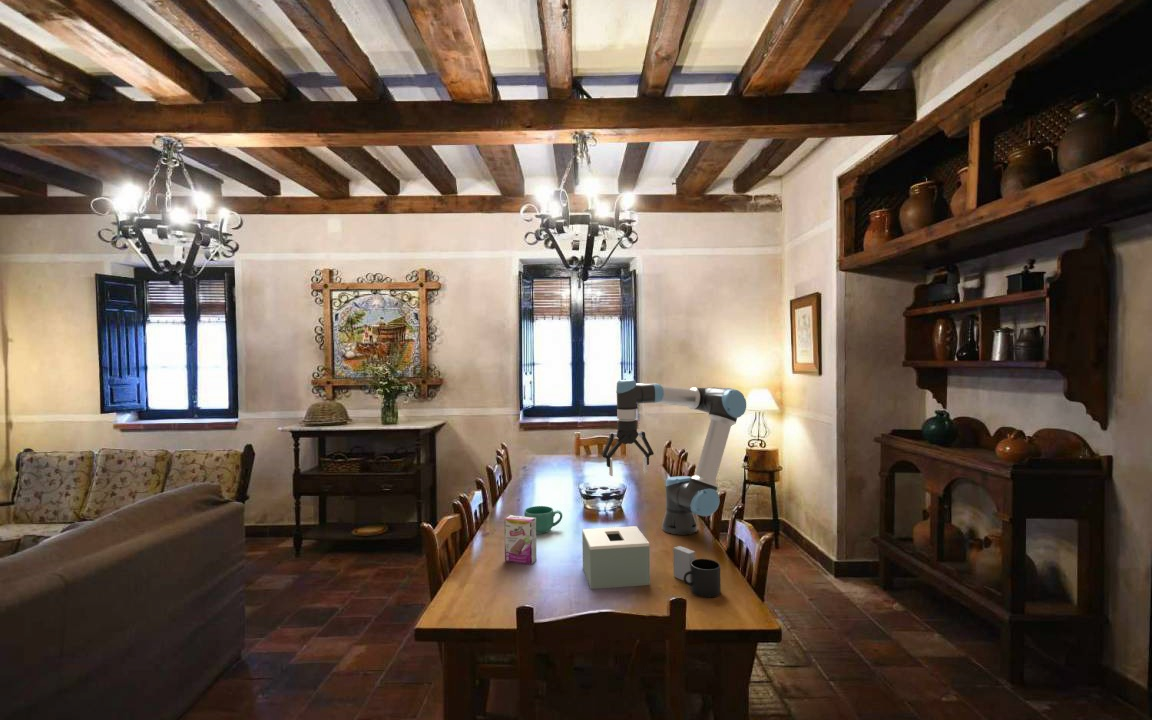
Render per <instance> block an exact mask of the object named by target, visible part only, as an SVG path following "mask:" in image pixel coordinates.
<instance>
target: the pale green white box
mask: <svg viewBox="0 0 1152 720" xmlns="http://www.w3.org/2000/svg"><path fill="white" fill-rule="evenodd" d="M581 530H582V533H581V535H582V537H581V539H582V541H581V543H582V570H583V573H584V575H585V577H586V580H587V582H588V586H589V588H590V590H596V589H608V588H609V589H610V588H624V587H625V588H626V587H638V586H639V587H641V586H651V573H650V569H651V568H650V566H651V565H650V562H651V561H650V556H651V555H650V553H651V552H650V551H651V550H650V542H649V541H648V539H647V538H646V537H645V536H644V534H643V533H642V531H640V529H639V528H638V526H637V525H636V526H633V525H632V526H619V527H618V526H617V527H615V526H614V527H600V528H599V527H598V528H597V527H596V528H582V529H581Z"/></svg>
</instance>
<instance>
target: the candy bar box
mask: <svg viewBox="0 0 1152 720" xmlns="http://www.w3.org/2000/svg"><path fill="white" fill-rule="evenodd" d="M504 561H505V562H507V561H509V563H514V562H516V563H515V564H522V565H523V564H524V565H530V566H531V565H533V564H534V563H536V562H537V534H536V518H533V517H524V516H522V515H515V514H514V515H513V514H509V515H507V516H506V517H505V518H504Z"/></svg>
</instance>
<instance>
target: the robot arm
mask: <svg viewBox="0 0 1152 720" xmlns="http://www.w3.org/2000/svg"><path fill="white" fill-rule="evenodd" d="M615 392H616V408H617V409H616V411H617V412H616V413H617V414H616V415H617V416H616V419H617V421H616V423H617V424H616V425H617V427H616V428H617V432H609V435H608V439H607V443H606V444H605V446H604V449H603V450H602V453H601V457H602V458H604V459H606V467H607V468H608V470H609V471H608V474H609V477H613V475H614V474H613V471H614V469H613V458H612V456H614V454H615V453H616V452H617V450H618V449H619V448H620V446H621V445H622V444H623V445H632V444H634V445H635V446H636V447H637V448H638V449H639V450H640V452H641V453H642V454H644V455H642V473H643V474H644V475H647V474H648V466H649V465H650V456H654V451H653V449H652V446H651V445H650V443H649V441H648V439H647V437H646V432H645V431H643V430H641V431H638V429H637V428H638V427H637V426H638V423H637V422H638V421H637V419H638V417H637V416H638V415H637V405H639V404H661V405H670V406H671V405H672V406H678V407H679V406H681V407H688V408H689V409H690V410H696V411H701V412H705V413H708V417H709V419H710V422H709V426H708V429H707V433H706V435H705V438H704V439H705V440H704V443H703V446H702V450H701V453H700V456H699V461H698V462H697V463H698V464H697V467H696V470H695V473H694V475H692V476H688V475H687V476H686V475H680V476H676V475H675V476H670V477H668V478H666V480H665V513H664V517H663V519H662V523H661V529H663V530H662V531H663V532H665V533H667V534H670V533H671V535H676V534H677V536H678V535H679V536H685V535H686V536H687V534H689V535H693V534H696V533H697V532H698V524H697V521H696V520H697V519H696V518H695V515H697V516H700V517H709V516H711V515H712V514H715V513H716V511H717V510H718V508H719V506H720V502H721V501H720V499H721V498H720V494H719V493H718V488H719V486H718V484H717V481H716V480H717V477H718V474H719V470H720V466H721V463H722V459H723V455H724V452H725V450H726V445H727V442H728V438H729V434H730V432H731V427H732V426H733V425H735V424H736V423H737V419H738V418H740V417H742V416H743V415H744V414H745V413H746V410H747V400H746V398H745V395H744V394H743V393H742V392H741V391H740V390H738V389H736V388H735V389H734V388H729V387H727V388H725V387H724V388H723V387H715V386H714V387H691V388H689V389H688V388H683V387H673V386H664V385H661V384H660V383H641V382H640V383H639V382H638V383H637V382H636V380H635V379H620V380H618V381H617V382H616V391H615ZM638 436H639V438H641V440H642V442H643V445H644V446H645V448H646V449H645V448H644V447H643V446H642V445H641V443H639V441H638V440H637V438H638ZM616 438H617V439H618V440H617V441H616V443H615V444H614V445H613V446H612V443H613V441H614V440H615V439H616ZM611 446H612V448H611ZM610 448H611V449H610ZM695 532H696V533H695Z"/></svg>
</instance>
